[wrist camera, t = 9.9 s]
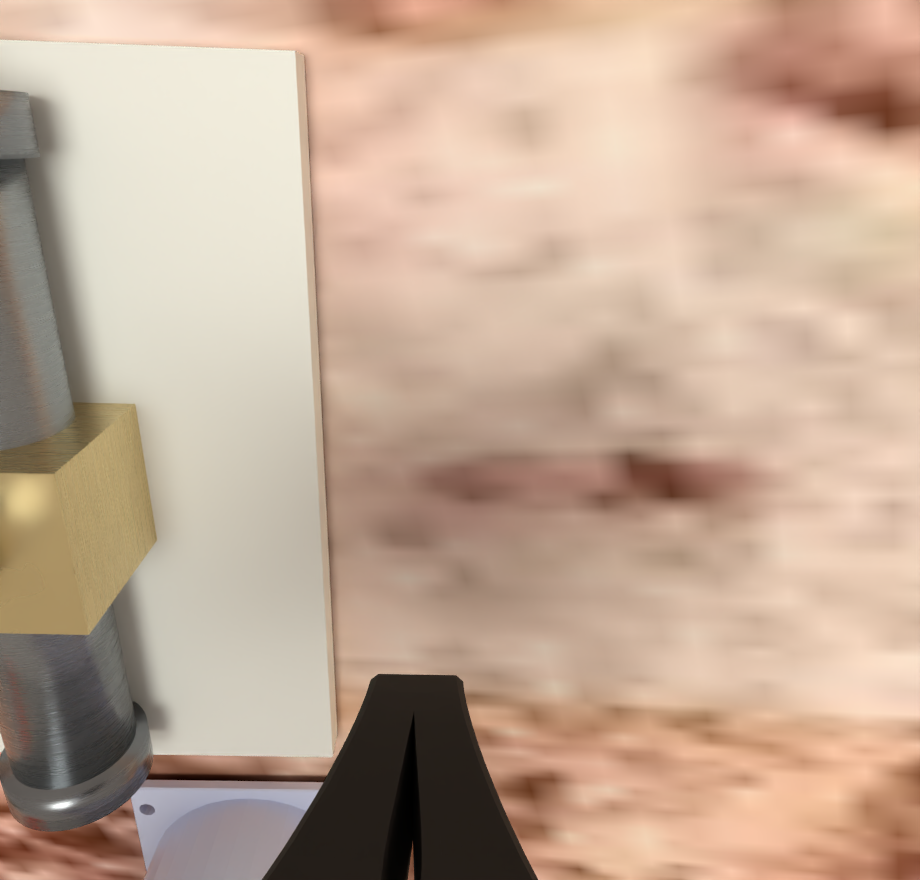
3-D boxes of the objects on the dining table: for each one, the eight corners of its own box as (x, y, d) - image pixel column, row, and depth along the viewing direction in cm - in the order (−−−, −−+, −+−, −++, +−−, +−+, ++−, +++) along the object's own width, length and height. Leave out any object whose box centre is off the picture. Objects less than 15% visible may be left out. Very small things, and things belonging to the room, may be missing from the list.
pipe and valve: (191, 724, 23) (135, 850, 19) (32, 721, 22) (-58, 847, 18) (92, 97, 15) (-32, 84, 11) (-143, 88, 15) (-350, 73, 11)
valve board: (337, 732, 24) (332, 757, 23) (-89, 726, 23) (-111, 750, 22) (303, 55, 16) (294, 50, 15) (-343, 31, 15) (-393, 24, 14)
